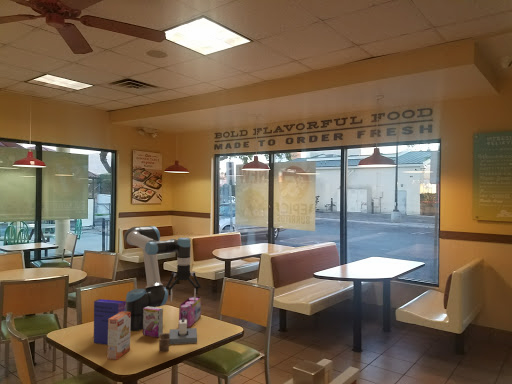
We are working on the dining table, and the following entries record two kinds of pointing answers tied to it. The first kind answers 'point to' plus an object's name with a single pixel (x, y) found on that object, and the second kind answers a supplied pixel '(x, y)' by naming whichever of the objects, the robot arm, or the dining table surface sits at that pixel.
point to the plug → (182, 327)
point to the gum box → (190, 310)
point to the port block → (188, 338)
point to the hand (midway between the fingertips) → (183, 300)
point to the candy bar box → (152, 321)
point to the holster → (164, 342)
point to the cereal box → (105, 317)
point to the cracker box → (119, 335)
